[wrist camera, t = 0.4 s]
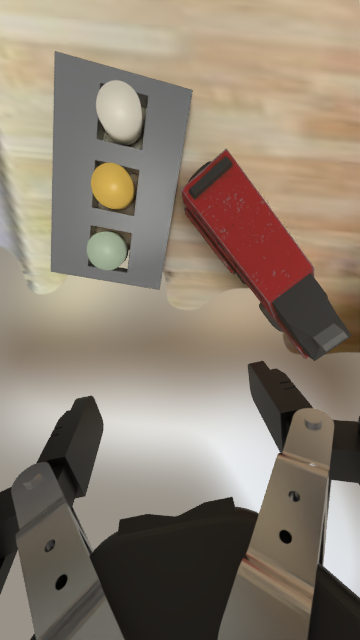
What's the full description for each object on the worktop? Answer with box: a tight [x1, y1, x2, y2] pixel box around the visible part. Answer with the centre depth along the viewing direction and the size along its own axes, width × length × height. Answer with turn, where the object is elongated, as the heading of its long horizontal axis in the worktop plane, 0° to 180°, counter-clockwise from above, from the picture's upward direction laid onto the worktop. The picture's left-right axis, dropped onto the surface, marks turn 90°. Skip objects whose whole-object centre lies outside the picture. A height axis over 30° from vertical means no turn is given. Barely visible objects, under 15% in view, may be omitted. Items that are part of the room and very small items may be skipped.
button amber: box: [91, 163, 135, 210], centre depth 29 cm, size 4×4×4 cm
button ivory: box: [96, 80, 143, 145], centre depth 27 cm, size 4×4×4 cm
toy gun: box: [181, 149, 351, 361], centre depth 31 cm, size 5×24×15 cm, turn 39°
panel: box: [51, 51, 193, 290], centre depth 31 cm, size 22×14×3 cm, turn 169°
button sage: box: [87, 231, 128, 270], centre depth 31 cm, size 4×4×4 cm
